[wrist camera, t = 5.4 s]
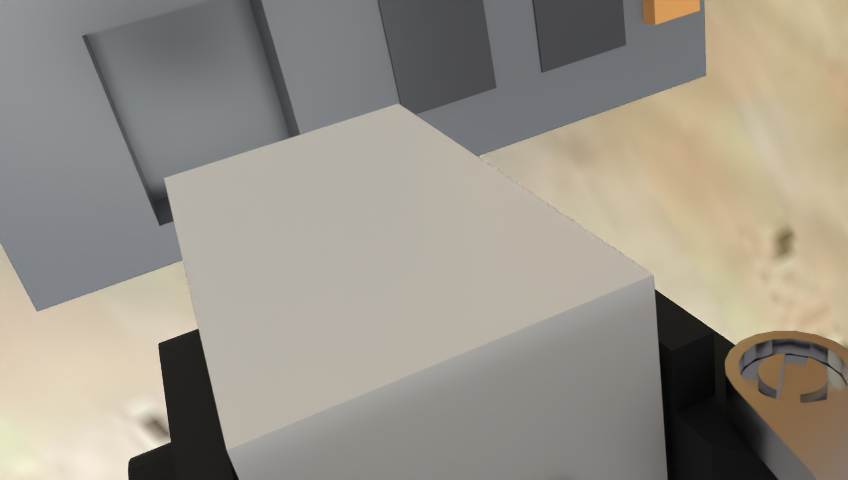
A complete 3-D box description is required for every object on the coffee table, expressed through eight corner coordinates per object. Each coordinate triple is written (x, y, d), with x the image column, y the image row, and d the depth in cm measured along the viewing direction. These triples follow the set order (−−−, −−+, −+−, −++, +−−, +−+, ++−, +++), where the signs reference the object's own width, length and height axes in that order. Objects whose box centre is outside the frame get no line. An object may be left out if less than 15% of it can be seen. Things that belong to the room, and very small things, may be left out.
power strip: (646, -168, 29) (714, -177, 26) (658, 62, 33) (718, 78, 30) (-90, 14, 22) (-118, 33, 19) (41, 272, 27) (35, 322, 24)
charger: (398, 103, 13) (660, 278, 7) (451, 340, 15) (682, 627, 9) (163, 178, 12) (228, 457, 6) (258, 419, 14) (373, 797, 8)
